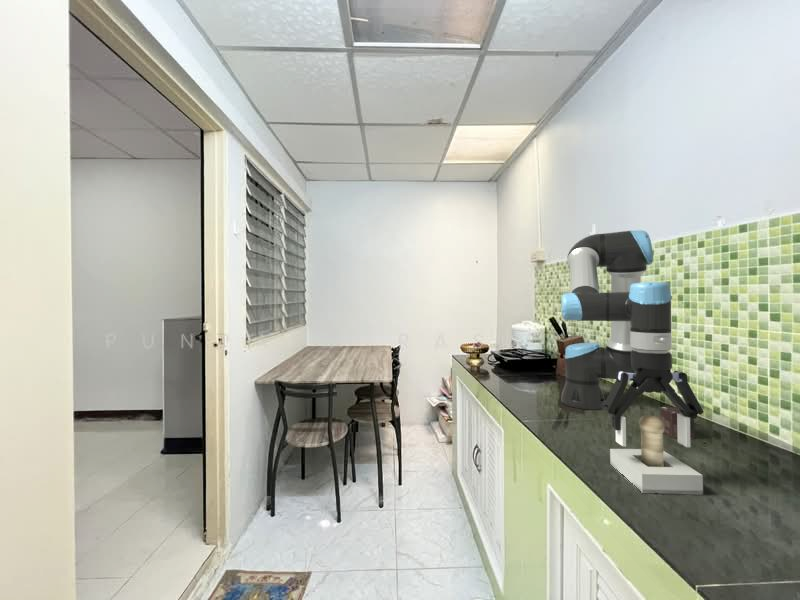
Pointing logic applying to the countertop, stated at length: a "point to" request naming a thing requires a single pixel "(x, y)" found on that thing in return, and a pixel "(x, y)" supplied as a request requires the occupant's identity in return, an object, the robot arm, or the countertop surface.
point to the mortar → (657, 473)
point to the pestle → (652, 441)
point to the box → (672, 421)
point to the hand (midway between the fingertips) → (652, 444)
